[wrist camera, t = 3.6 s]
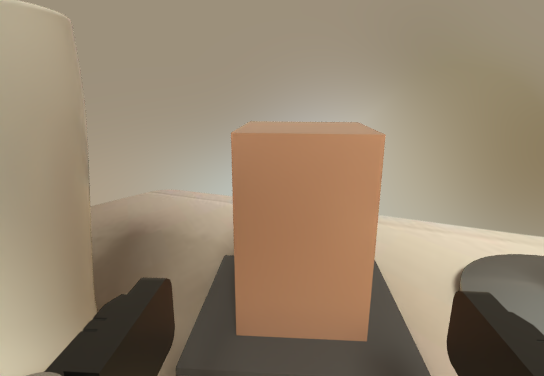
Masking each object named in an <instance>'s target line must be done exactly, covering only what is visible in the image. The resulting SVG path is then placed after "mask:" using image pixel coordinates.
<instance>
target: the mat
mask: <svg viewBox="0 0 544 376" xmlns="http://www.w3.org/2000/svg"><path fill="white" fill-rule="evenodd" d="M176 376H431V375H430V373H429V371H428V369H427V367H426V365H425V363H424V361H423V359H422V357H421V355H420V352H419V350H418V348H417V346H416V344H415V342H414V340H413V338H412V336H411V334H410V332H409V330H408V328H407V326H406V324H405V321H404V319H403V317H402V315H401V313H400V311H399V309H398V307H397V305H396V303H395V301H394V299H393V297H392V295H391V293H390V290H389V288H388V286H387V284H386V282H385V280H384V278H383V276H382V274H381V272H380V270H379V268H378V266H377V264H376V262H375V260H374V268H373V279H372V290H371V301H370V312H369V323H368V334H367V341H348V340H327V339H306V338H284V337H263V336H242V335H236V302H235V264H234V256H227V255H225V256H224V258H223V260H222V263H221V265H220V267H219V270H218V272H217V274H216V276H215V279H214V281H213V283H212V286H211V288H210V290H209V293H208V295H207V297H206V299H205V302H204V304H203V306H202V309H201V311H200V313H199V316H198V318H197V320H196V322H195V325H194V327H193V329H192V332H191V334H190V336H189V338H188V341H187V343H186V345H185V348H184V350H183V352H182V355H181V357H180V359H179V361H178V364H177V366H176Z"/></svg>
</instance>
